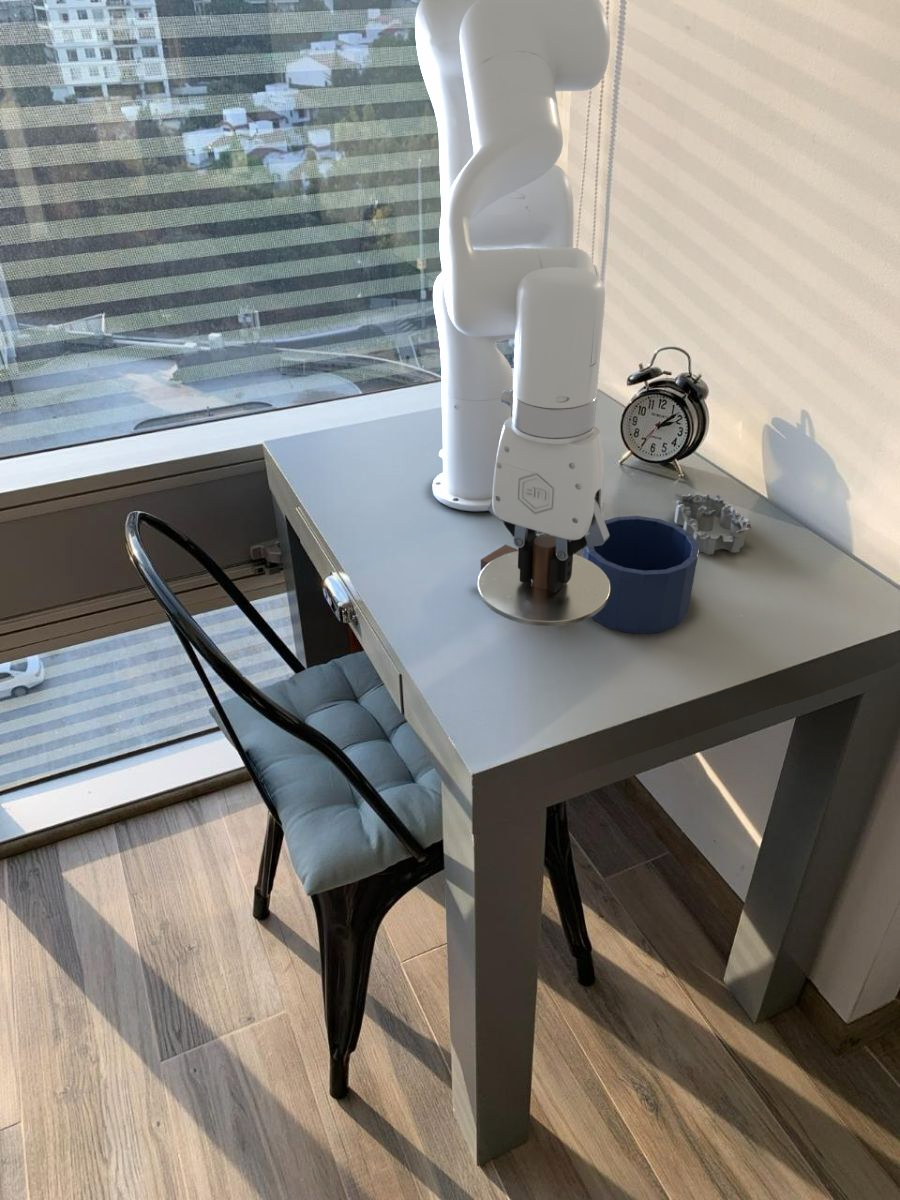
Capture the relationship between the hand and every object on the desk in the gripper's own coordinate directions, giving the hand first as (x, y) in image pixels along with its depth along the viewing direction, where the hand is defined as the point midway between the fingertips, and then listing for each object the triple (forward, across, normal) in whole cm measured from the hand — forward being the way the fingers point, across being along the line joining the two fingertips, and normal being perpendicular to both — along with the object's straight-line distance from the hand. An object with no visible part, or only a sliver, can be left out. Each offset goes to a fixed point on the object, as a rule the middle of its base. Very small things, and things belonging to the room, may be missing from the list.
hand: (543, 579), depth 92 cm
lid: (+1, 0, 0) cm, 1 cm away
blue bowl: (+10, +5, +15) cm, 18 cm away
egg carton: (+10, +7, +34) cm, 36 cm away
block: (+10, -9, +9) cm, 16 cm away
